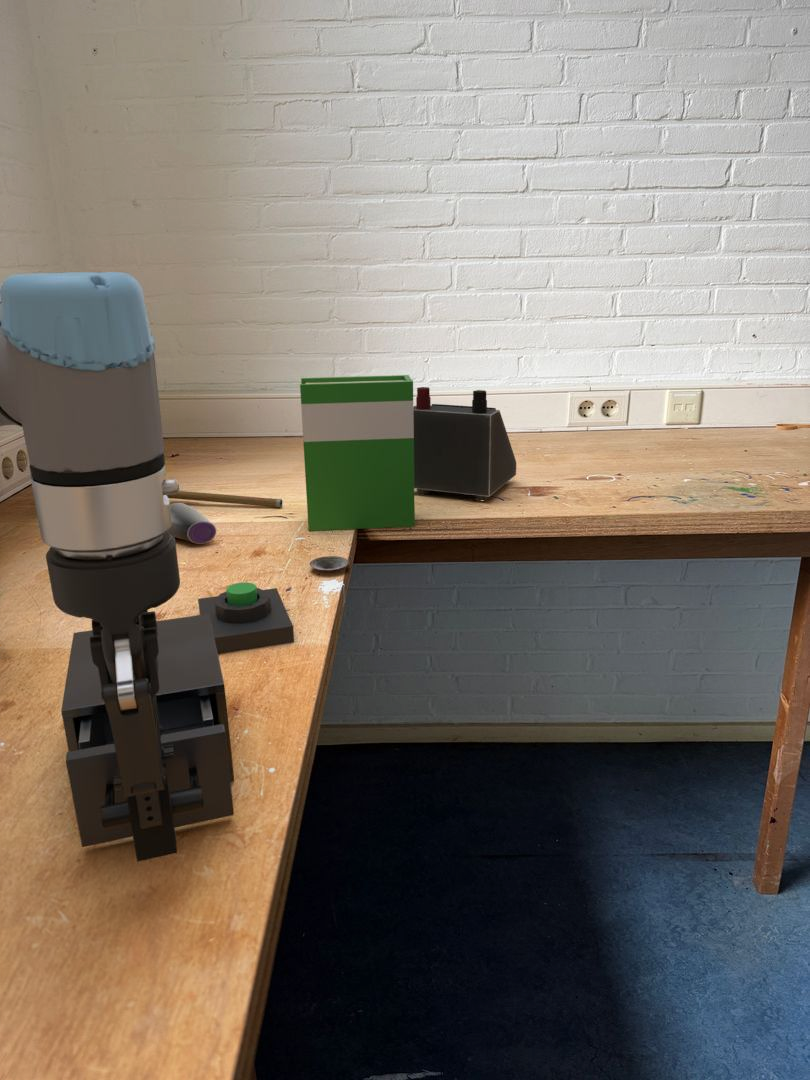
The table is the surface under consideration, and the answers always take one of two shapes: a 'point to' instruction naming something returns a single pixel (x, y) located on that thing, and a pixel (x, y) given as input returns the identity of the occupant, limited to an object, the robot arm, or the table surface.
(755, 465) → the table surface
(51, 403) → the robot arm
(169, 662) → the cabinet
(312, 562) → the small grey dish
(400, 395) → the green cereal box
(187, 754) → the drawer
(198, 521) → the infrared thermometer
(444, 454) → the voltmeter
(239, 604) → the button
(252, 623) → the control block
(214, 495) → the panzerfaust
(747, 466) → the table surface
